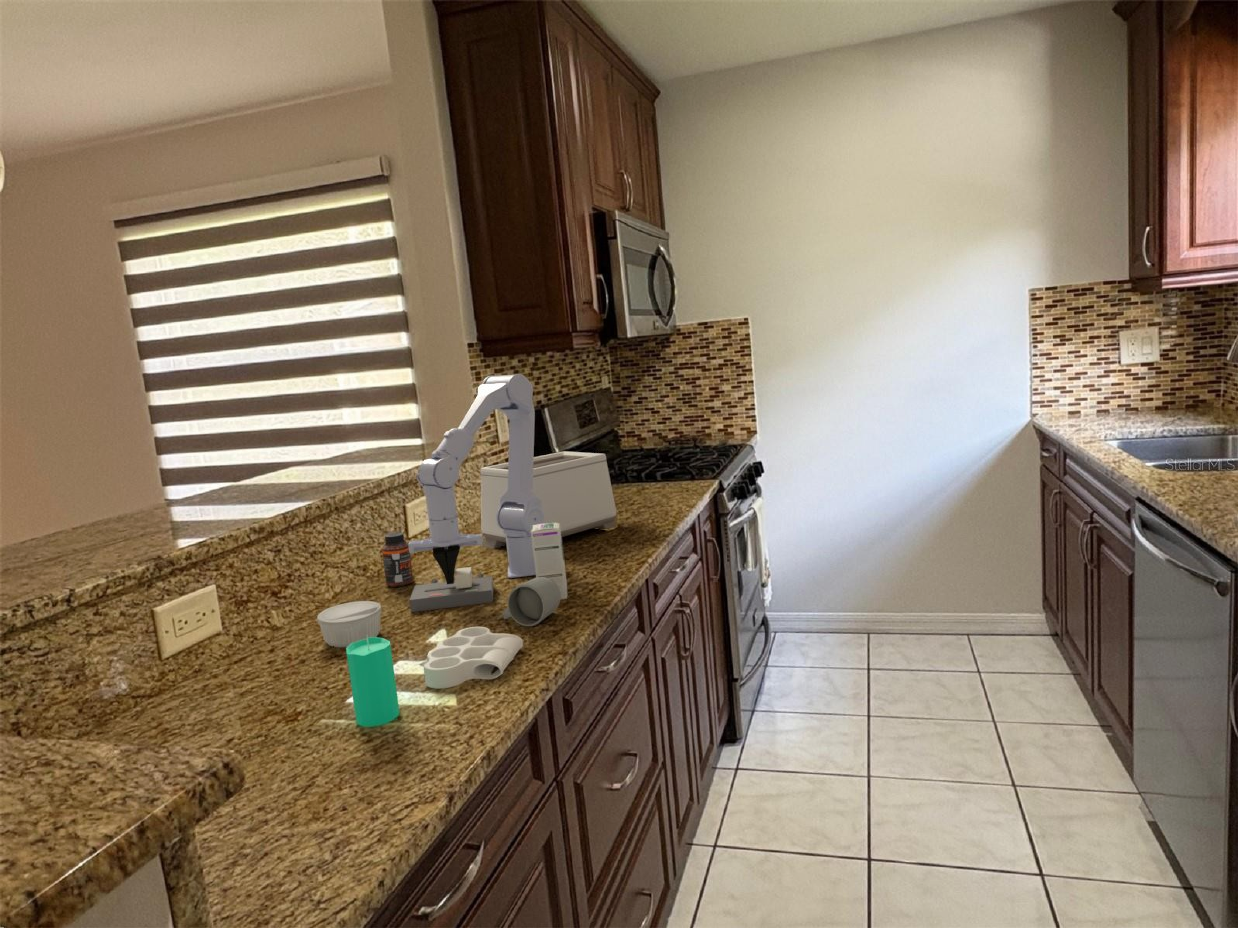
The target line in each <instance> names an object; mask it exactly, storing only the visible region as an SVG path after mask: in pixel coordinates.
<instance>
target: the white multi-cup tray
mask: <svg viewBox="0 0 1238 928" xmlns="http://www.w3.org/2000/svg"><path fill="white" fill-rule="evenodd" d="M523 647H524V640H523V639H522V637H520V636H518V635H516V634H511V633H506V632H505V633H493V632H491V630H490V629H489V628H488V627H486V626H471V627H464V628H462V629H459V630H457V632H456V633H455V634H454V635H451V636H449V637H447V638H444V639H442V640H440V641H438V642H437V643H436V647H434V648H433V649H431V650H429V651H428V653H427V656H426V659H425V660H423V661H422V662H421V663H419V664H418V666H421V667H423V674H424V681H425V682H424V683H425V685H426V686H427V687H428V688H430V689H437V690H438V689H446V688H447V689H448V688H453V687H456V686H458V685H461V684H463V683H465V682H466V681H469V680H473V679H475V680H477V679H481V680H494V679H497V678H498V677H499V676H501V675H503V674H504V670H505V669H506V668H507V667H508V666H509V664H510V663H511V662H512V661H513V660H514V659H515V657H516V654H517V653H518V652H519V651H520V650H521V649H522V648H523ZM495 667H497V668H498V669H496V671H495V672H493V671H494V668H495ZM492 672H493V673H492Z"/></svg>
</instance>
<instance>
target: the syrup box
mask: <svg viewBox="0 0 1238 928" xmlns="http://www.w3.org/2000/svg"><path fill="white" fill-rule="evenodd" d="M531 538H532V547H533V556H534V564H535V573H536V575H535V578H538V577H546V578H549V579H551V580H552V581H554V582H555V583H556V585H557V586H558V588H559V590H560V594H561V599H560V601H562V600H567V599H568V582H567V574H566V564H565V563H566V562H565V556H564V547H563V537H561V530H560V523H558V522H553V523H542V524H537V525H533V526H532V529H531Z"/></svg>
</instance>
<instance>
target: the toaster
mask: <svg viewBox="0 0 1238 928" xmlns="http://www.w3.org/2000/svg"><path fill="white" fill-rule="evenodd" d="M507 490H508V462H504V463H499V464H494V465H488V466H485V467H481V468H480V507H481V508H480V509H481V510H480V515H481V519H480V524H481V525H480V529H481V533H482V537H484V540H483V544H482V545H481V548H487V549H492V550H495V549H499V548H502V547H501V546H503V547H505V545H506V546H507V544H506V535H505V534H503V529H501V528H500V527H499V526H498V524H497V520H496V515H497V511H498V509H499V506H500V498H501V497H502V495H503V494H504V493H505V492H506V491H507ZM533 491H534V493H535V494H536V495H537V496H538V497H539V498H540V499H541V506H542V510H543V513H544V523H553V522H558V523H560V530H561V538H563V537H566V536H570V535H574V534H577V533H580V532H584V531H587V530H590V529H594V528H598V529H610V528H612V527H614V526H616V525H617V526H618V524H617V522H616V521H615V520H616V519H617V516H616V515H617V508H616V503H615V498H614V493H613V487H612V482H611V477H610V472H609V467H608V463H607V456H606V453H599V452H598V453H597V452H595V453H594V452H579V451H565V450H564V451H559V452H555V453H549V454H546V455H545V454H544V455H539V456H534V458H533ZM517 504H522V503H517Z"/></svg>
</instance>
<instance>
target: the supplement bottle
mask: <svg viewBox="0 0 1238 928" xmlns="http://www.w3.org/2000/svg"><path fill="white" fill-rule="evenodd" d="M384 541H385V543H384V544H383V545H382V547H381V553H382V554H381V555H382V560H383V569H384V577H385V583H386V586H388V587H394V588H396V587H398V588H399V587H404V586H408V585H410V584H411V583H412V582H414V575H413V565H412V558H411V553H409V546H408V544H409V542H407V541H406V540H405V535H404V533H403V532H392V533H388V534H385V535H384Z"/></svg>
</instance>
